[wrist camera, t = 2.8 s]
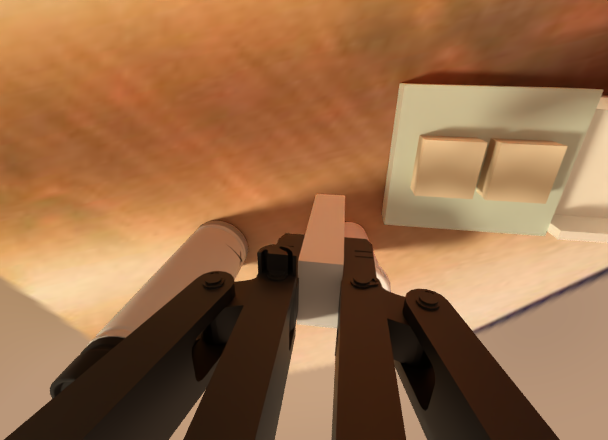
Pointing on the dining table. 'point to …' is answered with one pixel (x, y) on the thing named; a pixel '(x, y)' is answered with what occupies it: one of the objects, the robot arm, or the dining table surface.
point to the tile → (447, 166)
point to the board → (485, 125)
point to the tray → (586, 187)
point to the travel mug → (163, 290)
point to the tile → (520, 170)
